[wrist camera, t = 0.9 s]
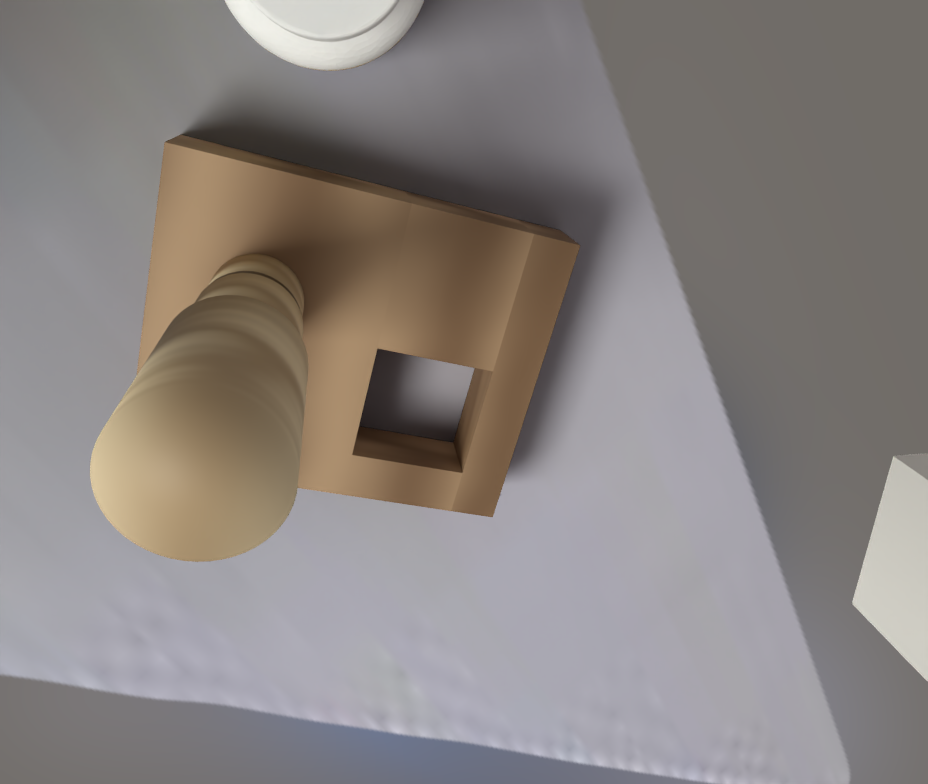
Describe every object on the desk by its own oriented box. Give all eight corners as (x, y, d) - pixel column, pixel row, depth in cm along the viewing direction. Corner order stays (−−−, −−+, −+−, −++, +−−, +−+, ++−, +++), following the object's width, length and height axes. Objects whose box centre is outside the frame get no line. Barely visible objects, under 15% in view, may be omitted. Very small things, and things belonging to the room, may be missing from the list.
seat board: (143, 429, 34) (126, 461, 31) (180, 134, 30) (164, 142, 27) (481, 484, 38) (492, 517, 35) (560, 230, 33) (580, 245, 31)
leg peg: (190, 340, 30) (81, 548, 17) (206, 231, 28) (100, 370, 16) (303, 362, 31) (279, 572, 18) (324, 257, 29) (314, 408, 17)
